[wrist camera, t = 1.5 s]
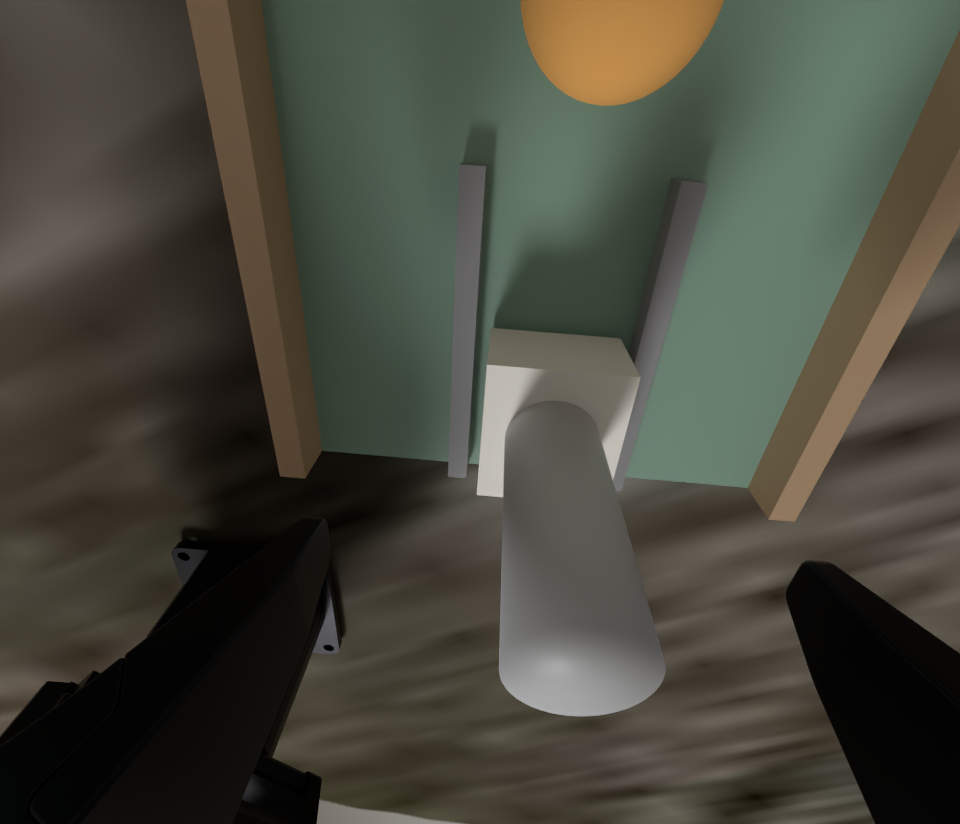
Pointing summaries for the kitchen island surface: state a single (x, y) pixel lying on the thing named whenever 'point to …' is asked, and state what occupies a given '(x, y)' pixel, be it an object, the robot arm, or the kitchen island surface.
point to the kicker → (565, 524)
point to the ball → (615, 44)
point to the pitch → (582, 222)
